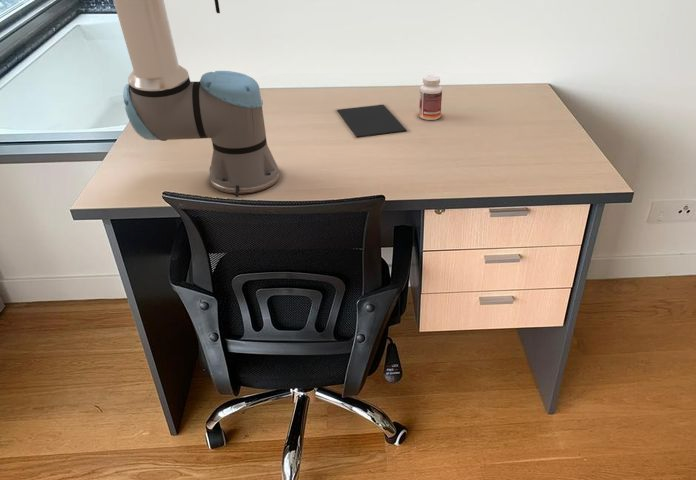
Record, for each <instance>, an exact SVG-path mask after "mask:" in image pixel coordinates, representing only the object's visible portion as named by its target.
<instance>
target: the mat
mask: <svg viewBox="0 0 696 480" xmlns="http://www.w3.org/2000/svg"><path fill="white" fill-rule="evenodd" d="M337 112H338V114H339V116H340V117H341V118H342V119H343V120H344V122H345V123H346V125H347V126H348V127H349V129H350V130H351V132H352V133H353V134H354V136H355V137H356V138H363V137H364V138H365V137H372V136H380V135H387V134H395V133H405V132H407V131H408V130H407V129H406V127H404V126H403V124H402V123H401V122H400V121H399V120H398V119H397V118H396V116H394V114H393V113H392V112H391V110H389V109H388V108H387V107H386V106H385V105H384V104H377V105H376V104H375V105H366V106H359V107H358V106H357V107H349V108H338V109H337Z"/></svg>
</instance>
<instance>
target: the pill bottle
mask: <svg viewBox="0 0 696 480" xmlns="http://www.w3.org/2000/svg"><path fill="white" fill-rule="evenodd" d="M440 84H441V78H440V77H439V76H438V75H434V74H433V75H431V74H430V75H425V76H423V77H422V84H421V86H420V88H419V104H418V105H419V107H418V109H419V110H418V115H419V117H420V118H421V119H422V120H426V121H436V120H438V119H440V118H441V116H442V99H443V87H442V85H440Z"/></svg>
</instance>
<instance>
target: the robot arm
mask: <svg viewBox="0 0 696 480" xmlns="http://www.w3.org/2000/svg"><path fill="white" fill-rule="evenodd" d="M213 1H214V6H215V12H216V14H221V10H220V9H221V8H220V4H219V0H213ZM113 4H114V7H115V11H116V14H117V17H118V21H119V24H120V28H121V31H122V35H123V39H124V42H125V45H126V50H127V52H128V56H129V60H130V64H131V66H132V72H130V74H129V76H128V77H127V81H128V83H127V84H125V86H124V87H123V92H122V93H123V94H122V97H123V103H124V105H125V107H124V109H125V113H126V116H127V118H128V121H129V123H130V125H131V126H132V129H133V130H134V132H135V133H136V134H137V135H139V137H141V138H143V139H144V140H148V141H161V142H166V141H173V140H198V139H200V140H201V139H202V140H203V139H211V144H212V149H213V150H212V156H211V162H210V166H209V171H208V172H209V180H210V184H211V186H212V187H213V188H214V189H216V190H217V191H219V192H222V193H226V194H232V195H233V194H234V196H235V197H239V195H243V194H253V193H257V192H261V191H264V190H267V189H269V188H270V187H272V186H273V185H275V184H276V183H277V182H278V180H279V177H280V172H279V167H278V165H277V162H276V160H275V157H274V156H273V154H272V152H271V150H270V147H269V146H268V142H267V141H268V140H267V134H266V133H267V132H266V125H265V117H264V111H263V105H264V101H263V99H262V95H261V90H260V86H259V85H260V84H259V83H258V82H257V81H256V79H254V78H253V77H252V76H249V75H247V74H245V73H241V72H237V71H231V70H215V71H208V72H205V73H204V74H202V75H201V77H200V79H199V80H198V81H192V80H191V79H190V78H191V77H190V74H189V72H188V71H189V70H187V69H186V68H185V67H183V66H182V65H180V64H179V61H178V55H177V52H176V48H175V43H174V39H173V34H172V30H171V27H170V22H169V17H168V13H167V9H166V4H165V0H113Z"/></svg>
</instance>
